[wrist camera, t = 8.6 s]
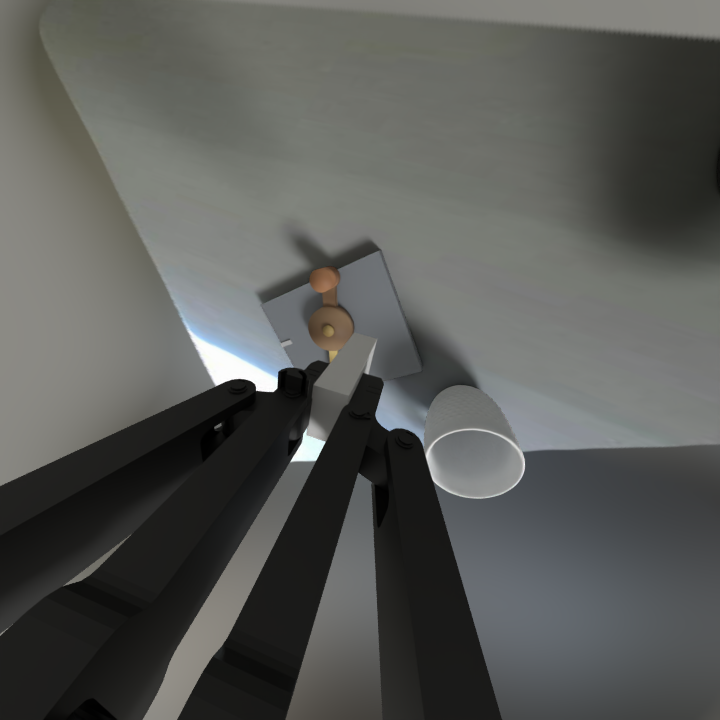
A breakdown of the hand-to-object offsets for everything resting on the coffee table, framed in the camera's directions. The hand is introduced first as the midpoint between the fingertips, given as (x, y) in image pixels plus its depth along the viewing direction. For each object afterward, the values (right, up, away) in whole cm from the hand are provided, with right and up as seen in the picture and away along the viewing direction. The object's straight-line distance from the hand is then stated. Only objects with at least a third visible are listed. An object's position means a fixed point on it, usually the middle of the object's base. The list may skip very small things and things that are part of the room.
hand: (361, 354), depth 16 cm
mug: (+16, -8, +25) cm, 31 cm away
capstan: (-4, +5, +22) cm, 23 cm away
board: (-3, +4, +24) cm, 25 cm away
